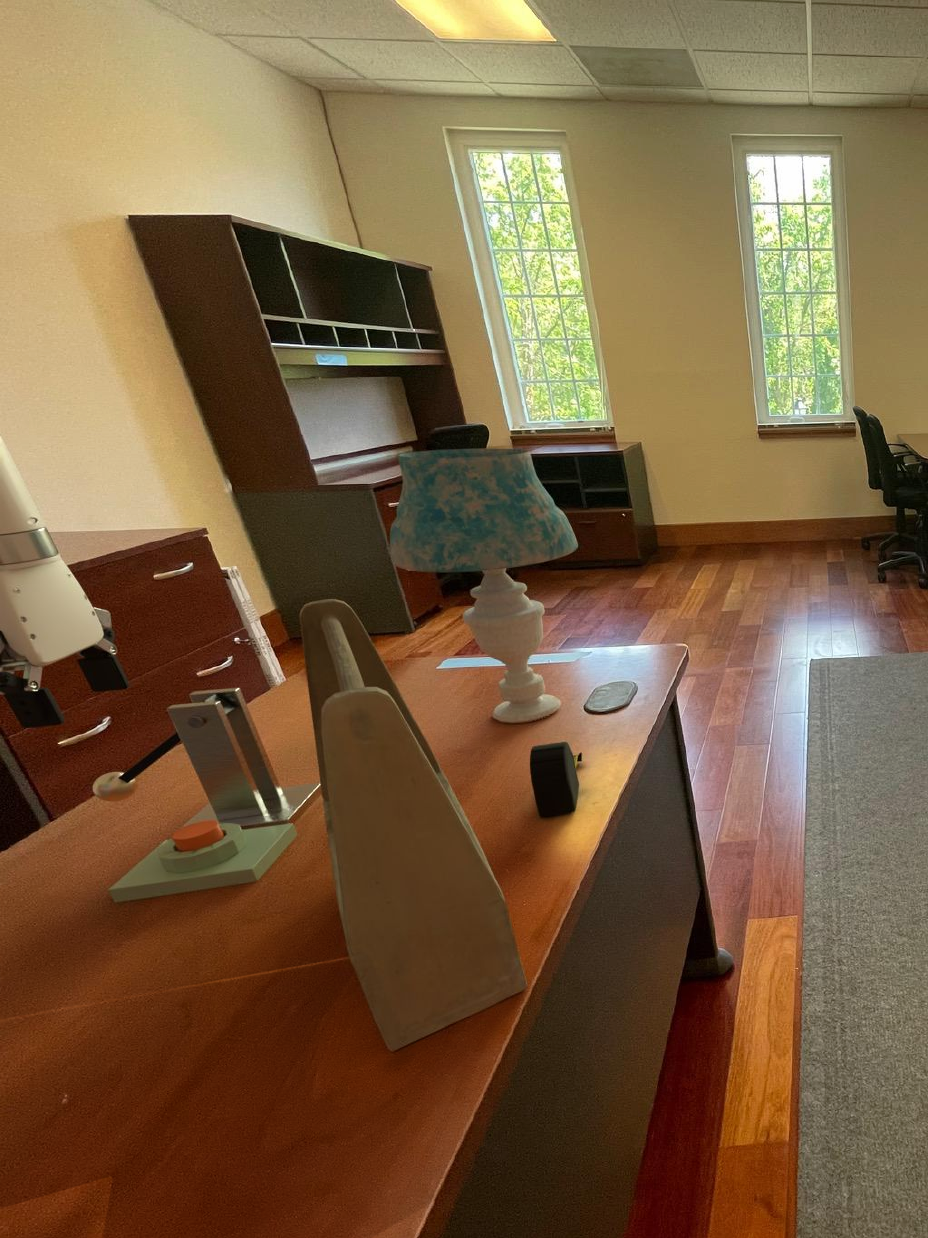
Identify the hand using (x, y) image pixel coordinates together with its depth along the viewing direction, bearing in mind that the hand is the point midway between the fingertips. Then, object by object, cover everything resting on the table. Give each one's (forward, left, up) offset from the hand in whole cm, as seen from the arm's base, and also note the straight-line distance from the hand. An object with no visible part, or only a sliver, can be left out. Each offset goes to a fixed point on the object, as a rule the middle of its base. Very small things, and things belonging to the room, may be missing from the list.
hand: (80, 706), depth 78 cm
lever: (+6, 0, -8) cm, 10 cm away
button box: (+12, -11, -16) cm, 23 cm away
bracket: (+11, 0, -16) cm, 19 cm away
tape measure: (+46, -4, -16) cm, 49 cm away
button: (+12, -11, -13) cm, 21 cm away
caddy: (+38, -29, -16) cm, 50 cm away
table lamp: (+37, +24, -16) cm, 47 cm away
